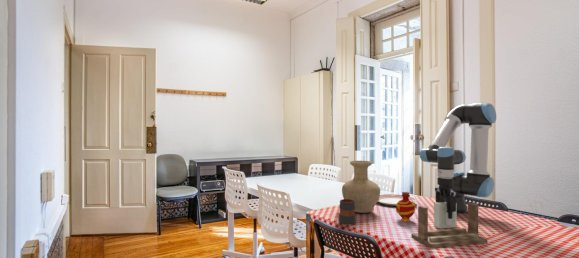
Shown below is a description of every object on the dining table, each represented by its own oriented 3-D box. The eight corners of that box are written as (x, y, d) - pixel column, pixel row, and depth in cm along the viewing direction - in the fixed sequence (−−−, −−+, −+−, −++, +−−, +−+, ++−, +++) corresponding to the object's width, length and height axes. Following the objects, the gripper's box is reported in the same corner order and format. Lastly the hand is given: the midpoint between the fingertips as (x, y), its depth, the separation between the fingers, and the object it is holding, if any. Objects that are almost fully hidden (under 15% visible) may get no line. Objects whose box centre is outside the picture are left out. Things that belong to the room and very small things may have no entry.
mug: (357, 219, 177) (357, 198, 177) (353, 225, 166) (353, 203, 166) (342, 218, 180) (342, 197, 180) (337, 224, 169) (337, 201, 169)
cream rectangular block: (451, 224, 168) (451, 201, 168) (457, 227, 163) (457, 203, 163) (434, 226, 165) (434, 202, 165) (439, 228, 161) (439, 204, 161)
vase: (383, 209, 199) (383, 160, 199) (375, 218, 179) (375, 164, 179) (348, 205, 209) (348, 159, 209) (336, 213, 189) (336, 162, 189)
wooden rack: (463, 232, 155) (463, 200, 155) (487, 242, 142) (487, 207, 141) (411, 236, 149) (411, 203, 149) (431, 247, 135) (431, 210, 135)
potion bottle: (417, 223, 170) (417, 194, 170) (396, 222, 172) (396, 194, 172) (414, 217, 180) (414, 191, 180) (394, 216, 182) (394, 190, 182)
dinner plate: (411, 210, 198) (411, 204, 198) (368, 204, 212) (368, 199, 212) (420, 201, 221) (420, 196, 221) (380, 197, 236) (380, 192, 236)
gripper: (428, 175, 172) (428, 219, 172) (451, 180, 155) (451, 229, 155) (440, 174, 174) (440, 218, 174) (464, 179, 157) (464, 228, 157)
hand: (445, 223), depth 164 cm, fingers closed on cream rectangular block, 4 cm apart
